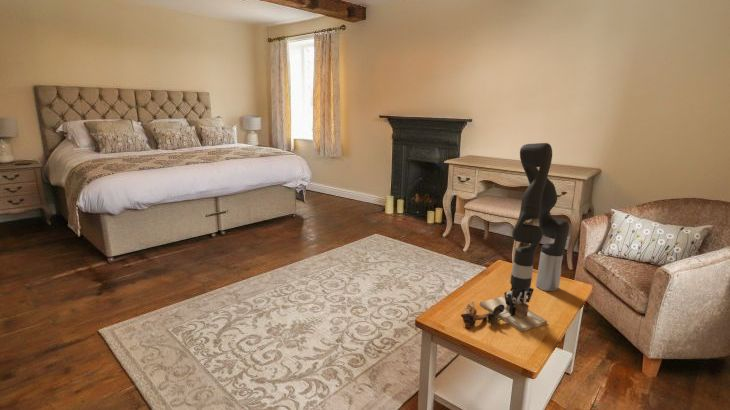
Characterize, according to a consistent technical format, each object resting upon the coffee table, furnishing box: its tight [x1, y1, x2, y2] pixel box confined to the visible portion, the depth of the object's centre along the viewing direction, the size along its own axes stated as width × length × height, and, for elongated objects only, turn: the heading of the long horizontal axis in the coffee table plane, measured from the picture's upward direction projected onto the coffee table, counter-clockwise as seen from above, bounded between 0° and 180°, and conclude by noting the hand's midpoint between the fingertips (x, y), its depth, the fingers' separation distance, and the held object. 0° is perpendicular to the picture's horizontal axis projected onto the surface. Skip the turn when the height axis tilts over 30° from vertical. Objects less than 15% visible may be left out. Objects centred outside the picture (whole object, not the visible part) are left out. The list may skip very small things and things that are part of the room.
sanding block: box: [506, 298, 529, 319], centre depth 157 cm, size 4×7×5 cm, turn 27°
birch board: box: [479, 295, 548, 332], centre depth 160 cm, size 14×22×1 cm, turn 27°
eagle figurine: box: [484, 305, 504, 327], centre depth 153 cm, size 8×7×9 cm
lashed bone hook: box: [460, 300, 486, 329], centre depth 155 cm, size 9×5×18 cm
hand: (516, 313), depth 158 cm, fingers closed on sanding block, 4 cm apart
